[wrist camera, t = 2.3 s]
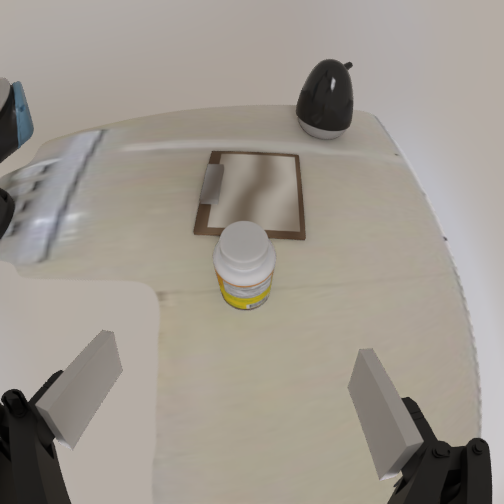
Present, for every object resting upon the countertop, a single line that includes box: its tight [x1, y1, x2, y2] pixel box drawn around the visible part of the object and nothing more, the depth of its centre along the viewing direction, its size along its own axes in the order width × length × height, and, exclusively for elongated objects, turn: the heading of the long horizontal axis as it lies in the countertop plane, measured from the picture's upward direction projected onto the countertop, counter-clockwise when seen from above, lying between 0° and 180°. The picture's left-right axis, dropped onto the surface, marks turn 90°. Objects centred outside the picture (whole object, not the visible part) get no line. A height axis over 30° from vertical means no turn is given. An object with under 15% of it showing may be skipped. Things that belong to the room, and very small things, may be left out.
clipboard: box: [193, 151, 306, 240], centre depth 37 cm, size 14×16×2 cm
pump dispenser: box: [296, 59, 353, 139], centre depth 40 cm, size 10×10×15 cm
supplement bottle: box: [213, 221, 276, 311], centre depth 26 cm, size 6×6×10 cm
